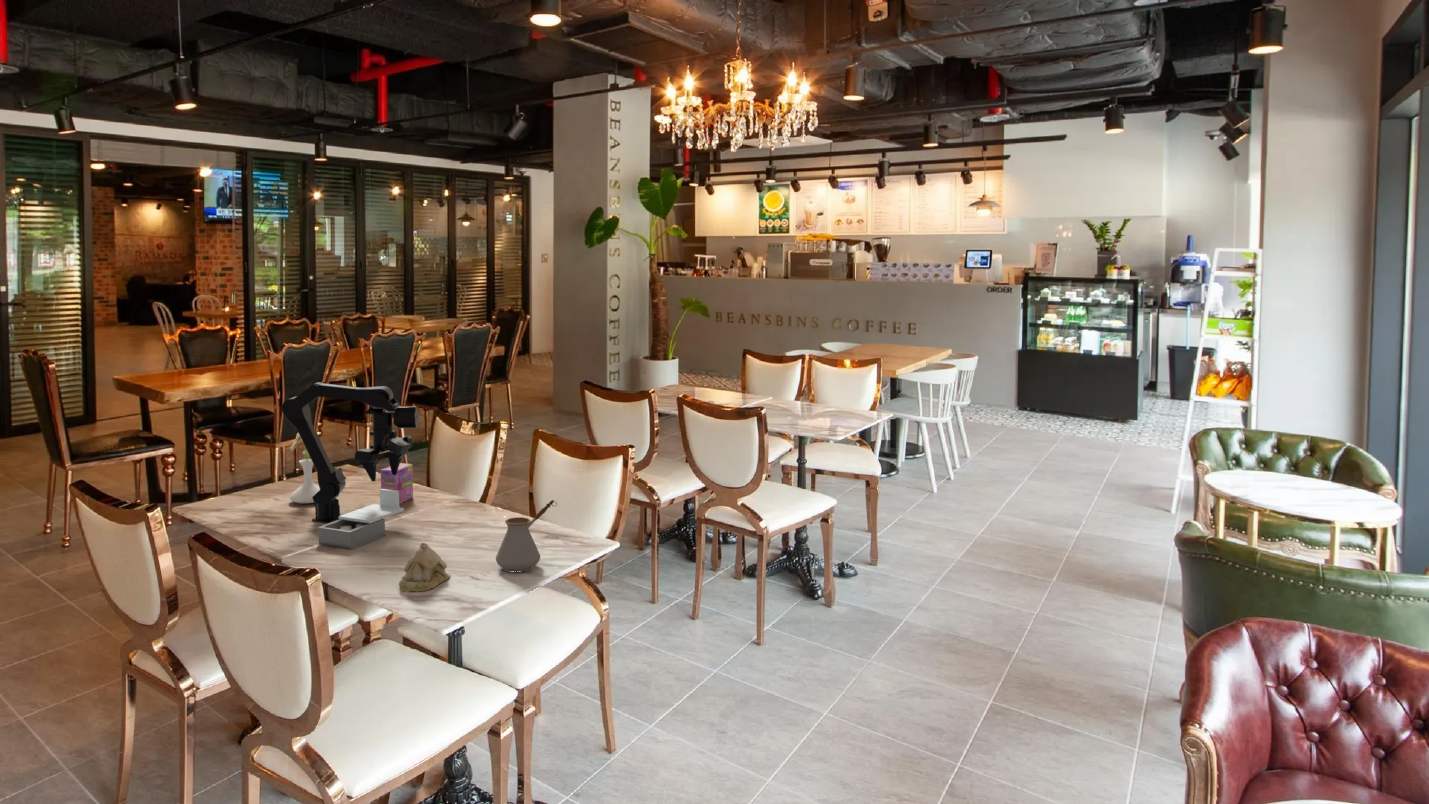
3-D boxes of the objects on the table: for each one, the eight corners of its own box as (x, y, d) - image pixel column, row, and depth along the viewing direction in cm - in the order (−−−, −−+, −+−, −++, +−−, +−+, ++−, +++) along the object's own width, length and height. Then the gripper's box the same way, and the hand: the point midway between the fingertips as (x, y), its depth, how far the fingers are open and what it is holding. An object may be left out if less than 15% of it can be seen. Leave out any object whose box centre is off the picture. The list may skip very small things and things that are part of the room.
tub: (318, 544, 246) (318, 527, 245) (354, 531, 259) (353, 514, 258) (350, 549, 242) (349, 532, 241) (385, 535, 255) (384, 518, 254)
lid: (338, 519, 252) (337, 500, 251) (376, 505, 267) (375, 487, 266) (370, 523, 249) (369, 504, 248) (406, 509, 263) (405, 491, 262)
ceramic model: (410, 572, 226) (409, 535, 225) (454, 573, 226) (453, 535, 225) (391, 592, 212) (390, 552, 211) (437, 593, 212) (436, 553, 211)
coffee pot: (521, 578, 224) (520, 521, 221) (486, 570, 229) (485, 514, 226) (571, 555, 242) (571, 502, 240) (538, 548, 248) (538, 496, 245)
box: (396, 505, 286) (395, 470, 285) (381, 504, 288) (379, 469, 286) (413, 498, 297) (412, 463, 295) (398, 496, 298) (397, 462, 296)
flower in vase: (297, 497, 294) (293, 423, 290) (332, 497, 295) (329, 423, 291) (282, 507, 281) (278, 431, 277) (319, 507, 282) (316, 431, 278)
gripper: (382, 435, 256) (384, 487, 258) (424, 425, 273) (425, 474, 276) (352, 432, 260) (354, 483, 262) (395, 422, 277) (396, 470, 279)
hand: (384, 478), depth 270 cm, fingers open, 9 cm apart
